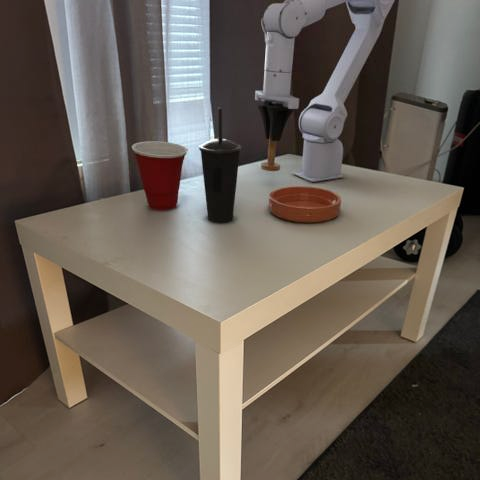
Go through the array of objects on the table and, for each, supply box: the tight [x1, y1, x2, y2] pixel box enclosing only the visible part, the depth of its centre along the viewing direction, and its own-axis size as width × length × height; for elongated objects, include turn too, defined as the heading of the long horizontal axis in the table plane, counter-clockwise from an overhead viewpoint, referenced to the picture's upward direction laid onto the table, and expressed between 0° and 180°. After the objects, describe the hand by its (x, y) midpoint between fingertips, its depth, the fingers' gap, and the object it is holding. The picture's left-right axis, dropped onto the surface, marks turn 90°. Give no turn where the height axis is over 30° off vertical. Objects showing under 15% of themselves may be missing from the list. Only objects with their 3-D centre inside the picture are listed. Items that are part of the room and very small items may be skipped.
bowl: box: [268, 185, 342, 224], centre depth 97 cm, size 14×14×3 cm
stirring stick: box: [260, 135, 281, 172], centre depth 109 cm, size 4×4×10 cm
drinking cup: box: [198, 107, 242, 224], centre depth 89 cm, size 8×8×20 cm
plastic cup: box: [131, 140, 188, 211], centre depth 97 cm, size 11×11×12 cm
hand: (272, 139), depth 108 cm, fingers closed on stirring stick
